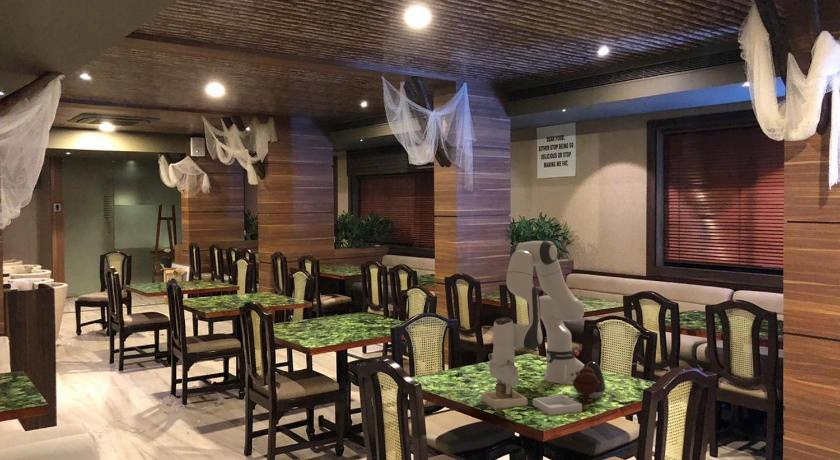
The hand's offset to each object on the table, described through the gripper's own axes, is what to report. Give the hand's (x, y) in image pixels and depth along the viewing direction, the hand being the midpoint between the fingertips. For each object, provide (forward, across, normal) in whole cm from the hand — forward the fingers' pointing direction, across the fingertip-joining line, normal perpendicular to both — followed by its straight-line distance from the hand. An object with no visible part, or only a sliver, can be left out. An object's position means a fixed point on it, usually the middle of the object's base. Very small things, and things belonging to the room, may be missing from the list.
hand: (504, 391), depth 279 cm
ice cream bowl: (+5, -12, -31) cm, 34 cm away
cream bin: (+5, 0, 0) cm, 5 cm away
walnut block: (+2, 0, 0) cm, 2 cm away
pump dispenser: (+5, -4, -39) cm, 39 cm away
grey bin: (+5, -15, -16) cm, 23 cm away
